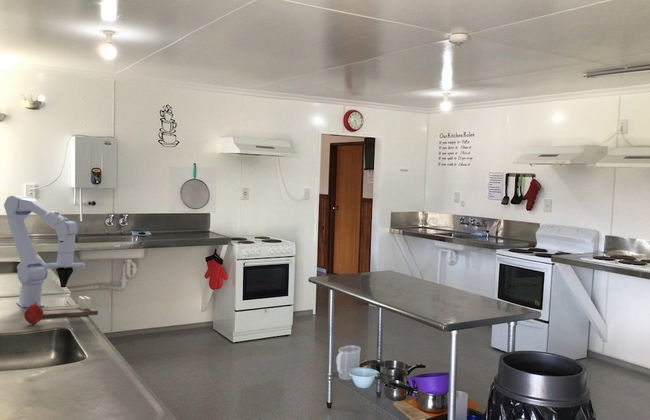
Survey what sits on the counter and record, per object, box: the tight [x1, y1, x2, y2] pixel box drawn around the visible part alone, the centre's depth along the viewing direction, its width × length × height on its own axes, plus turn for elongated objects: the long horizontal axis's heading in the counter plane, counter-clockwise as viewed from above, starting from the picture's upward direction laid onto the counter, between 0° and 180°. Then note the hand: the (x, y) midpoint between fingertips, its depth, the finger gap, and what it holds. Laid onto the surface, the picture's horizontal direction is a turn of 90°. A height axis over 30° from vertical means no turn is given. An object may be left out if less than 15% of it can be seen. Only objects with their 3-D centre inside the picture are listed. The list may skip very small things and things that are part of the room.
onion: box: [23, 302, 43, 326], centre depth 194 cm, size 6×6×8 cm
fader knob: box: [77, 295, 92, 309], centre depth 218 cm, size 5×3×4 cm, turn 40°
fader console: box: [40, 304, 99, 320], centre depth 214 cm, size 12×21×2 cm, turn 130°
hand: (63, 287), depth 217 cm, fingers closed
